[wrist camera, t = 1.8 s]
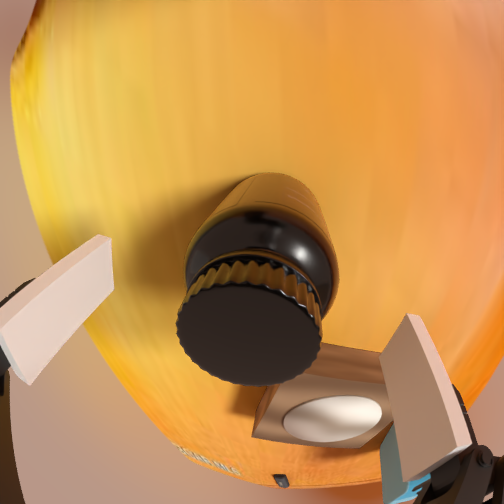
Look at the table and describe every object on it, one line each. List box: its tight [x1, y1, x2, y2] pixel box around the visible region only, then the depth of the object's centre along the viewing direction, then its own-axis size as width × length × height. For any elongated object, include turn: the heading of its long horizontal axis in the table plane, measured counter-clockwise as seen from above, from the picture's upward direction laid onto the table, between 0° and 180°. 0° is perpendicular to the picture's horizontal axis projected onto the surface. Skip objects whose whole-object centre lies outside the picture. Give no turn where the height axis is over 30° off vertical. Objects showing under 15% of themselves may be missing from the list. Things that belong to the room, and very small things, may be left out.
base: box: [252, 343, 393, 448], centre depth 24 cm, size 14×14×4 cm
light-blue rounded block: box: [380, 423, 431, 504], centre depth 24 cm, size 12×4×12 cm, turn 8°
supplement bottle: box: [176, 173, 339, 387], centre depth 14 cm, size 7×7×12 cm
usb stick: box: [274, 474, 289, 488], centre depth 43 cm, size 10×3×2 cm, turn 12°
